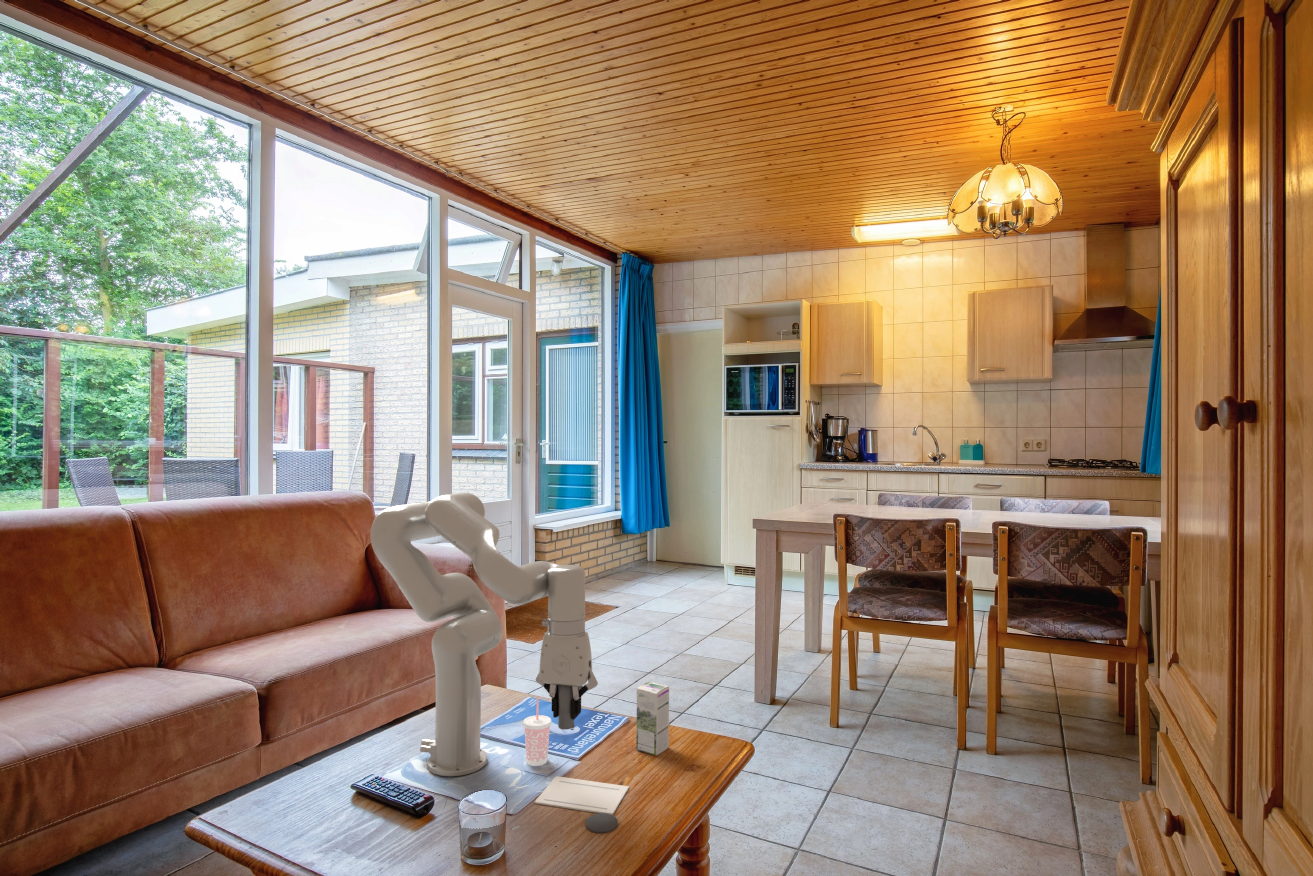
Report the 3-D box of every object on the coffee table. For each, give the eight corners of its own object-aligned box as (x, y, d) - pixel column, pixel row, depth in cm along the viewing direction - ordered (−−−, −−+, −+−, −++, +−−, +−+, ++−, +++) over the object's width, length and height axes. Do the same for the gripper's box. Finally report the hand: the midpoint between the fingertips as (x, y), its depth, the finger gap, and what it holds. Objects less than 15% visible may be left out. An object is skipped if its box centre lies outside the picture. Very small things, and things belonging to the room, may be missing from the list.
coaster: (580, 830, 130) (580, 828, 130) (591, 813, 136) (591, 811, 136) (612, 835, 129) (612, 833, 129) (621, 818, 135) (621, 816, 135)
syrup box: (669, 747, 166) (670, 685, 166) (655, 757, 161) (656, 692, 161) (649, 741, 169) (649, 680, 169) (634, 750, 164) (635, 687, 164)
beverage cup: (517, 765, 156) (518, 701, 156) (530, 753, 161) (531, 691, 161) (543, 769, 154) (544, 704, 154) (555, 757, 160) (556, 694, 160)
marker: (555, 728, 145) (555, 674, 145) (561, 722, 148) (561, 669, 148) (571, 730, 144) (571, 675, 144) (576, 724, 148) (577, 670, 148)
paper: (534, 803, 139) (534, 801, 139) (556, 777, 150) (556, 776, 150) (612, 815, 136) (612, 813, 136) (629, 788, 146) (629, 786, 146)
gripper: (521, 628, 145) (521, 719, 145) (598, 634, 141) (598, 727, 141) (537, 619, 152) (536, 705, 152) (610, 624, 148) (610, 713, 148)
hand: (566, 715), depth 146 cm, fingers closed on marker, 3 cm apart
